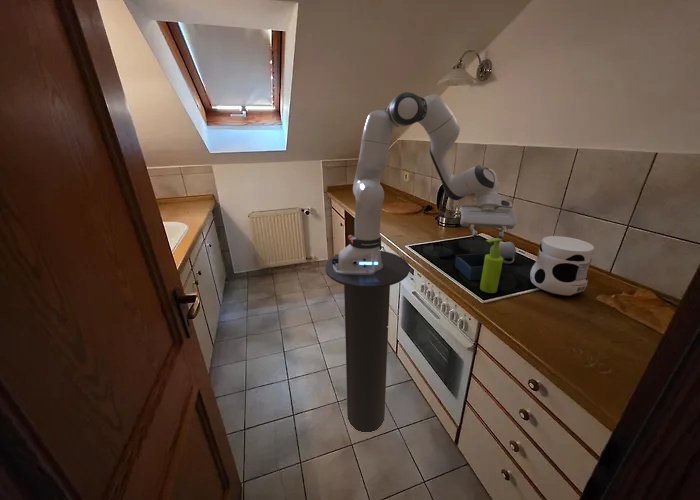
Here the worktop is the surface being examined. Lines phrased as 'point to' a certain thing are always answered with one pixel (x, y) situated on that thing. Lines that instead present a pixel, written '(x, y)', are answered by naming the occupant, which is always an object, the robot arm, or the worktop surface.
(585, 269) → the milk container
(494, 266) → the soap dispenser
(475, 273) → the blue open box
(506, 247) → the ceramic mug
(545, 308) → the worktop surface
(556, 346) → the worktop surface
